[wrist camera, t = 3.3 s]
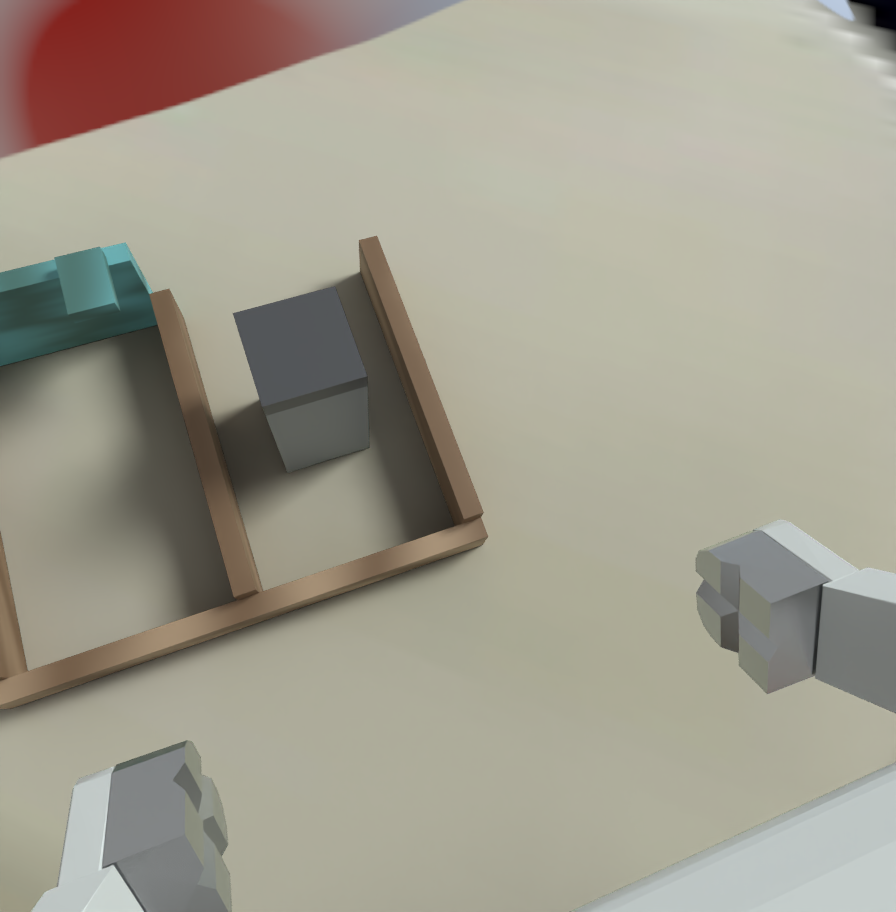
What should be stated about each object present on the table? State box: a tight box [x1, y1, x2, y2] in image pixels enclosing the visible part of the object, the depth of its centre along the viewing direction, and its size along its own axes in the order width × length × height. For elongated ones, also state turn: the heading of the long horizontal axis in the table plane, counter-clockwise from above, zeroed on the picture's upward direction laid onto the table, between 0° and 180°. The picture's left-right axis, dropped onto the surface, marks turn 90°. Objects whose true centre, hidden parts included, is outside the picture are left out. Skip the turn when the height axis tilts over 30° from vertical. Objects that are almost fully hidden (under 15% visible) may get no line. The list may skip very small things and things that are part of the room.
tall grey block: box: [233, 286, 369, 473], centre depth 35 cm, size 4×4×9 cm
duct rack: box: [0, 236, 488, 709], centre depth 35 cm, size 23×18×7 cm
